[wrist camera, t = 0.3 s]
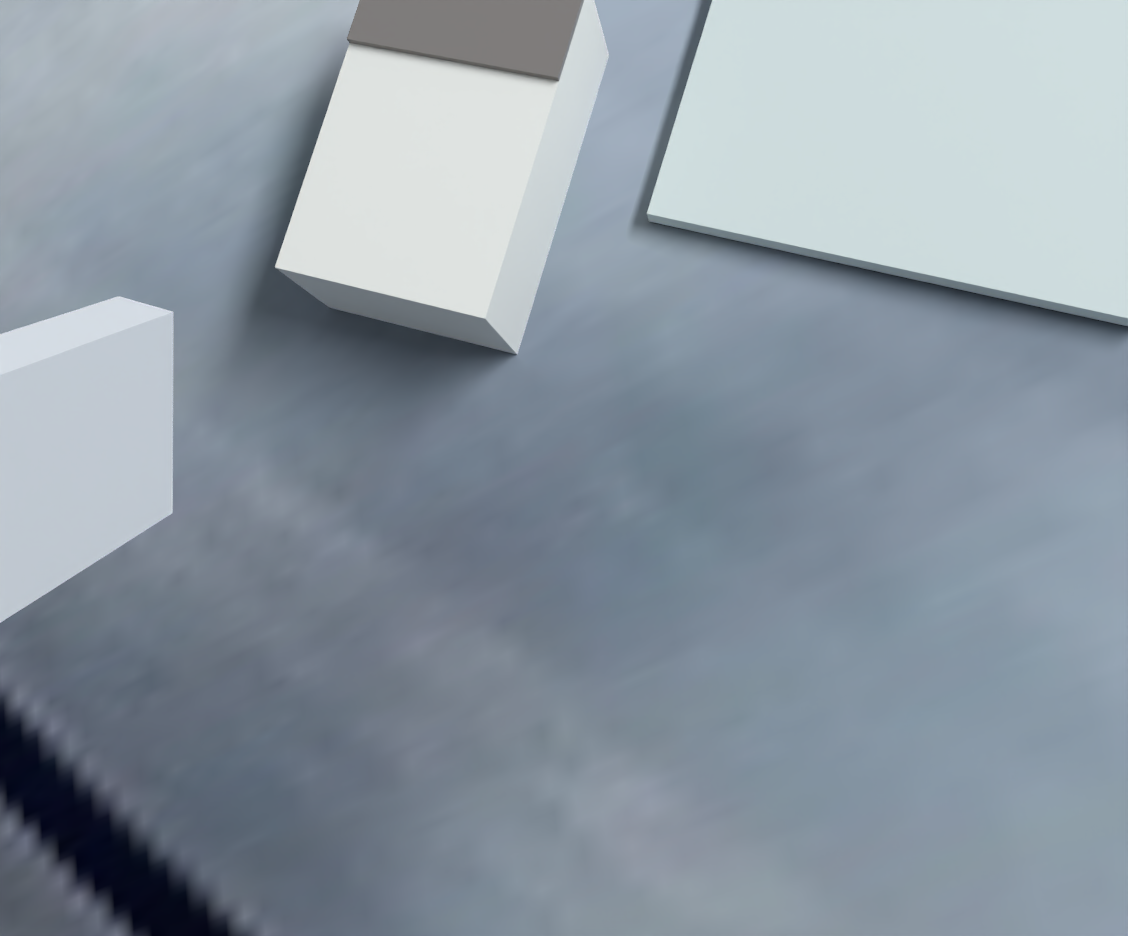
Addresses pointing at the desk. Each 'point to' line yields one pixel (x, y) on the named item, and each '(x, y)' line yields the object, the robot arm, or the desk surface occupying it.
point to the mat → (916, 142)
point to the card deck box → (446, 162)
